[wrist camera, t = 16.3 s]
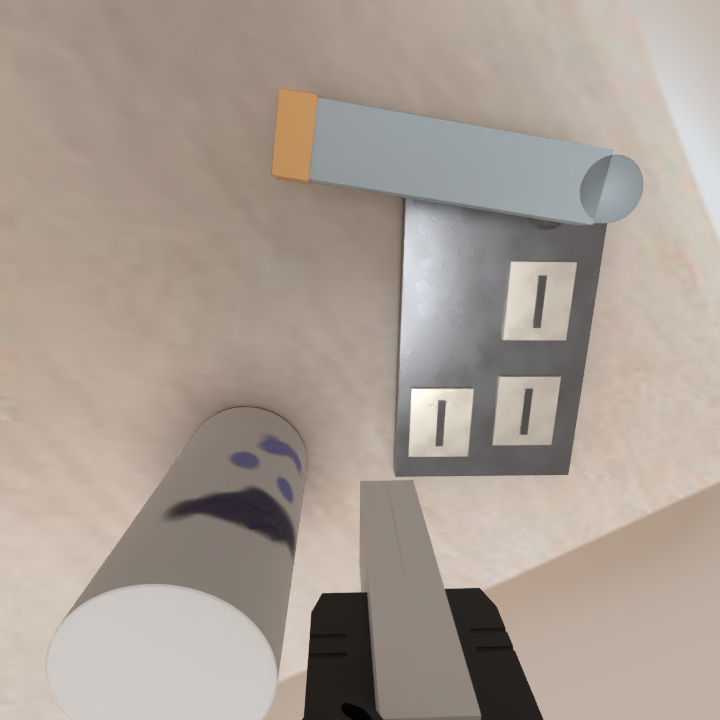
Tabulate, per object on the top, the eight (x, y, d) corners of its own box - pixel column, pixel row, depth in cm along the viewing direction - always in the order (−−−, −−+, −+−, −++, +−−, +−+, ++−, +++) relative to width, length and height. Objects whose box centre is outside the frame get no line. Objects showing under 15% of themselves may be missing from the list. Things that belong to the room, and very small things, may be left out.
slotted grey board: (404, 175, 33) (407, 172, 32) (604, 179, 34) (617, 176, 33) (393, 469, 40) (395, 479, 39) (561, 467, 41) (570, 477, 39)
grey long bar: (630, 160, 27) (654, 154, 25) (609, 232, 28) (631, 232, 26) (284, 99, 26) (279, 87, 24) (276, 178, 27) (271, 174, 25)
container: (325, 432, 39) (311, 631, 20) (281, 526, 41) (230, 786, 22) (212, 387, 37) (77, 556, 18) (173, 487, 40) (17, 731, 20)
